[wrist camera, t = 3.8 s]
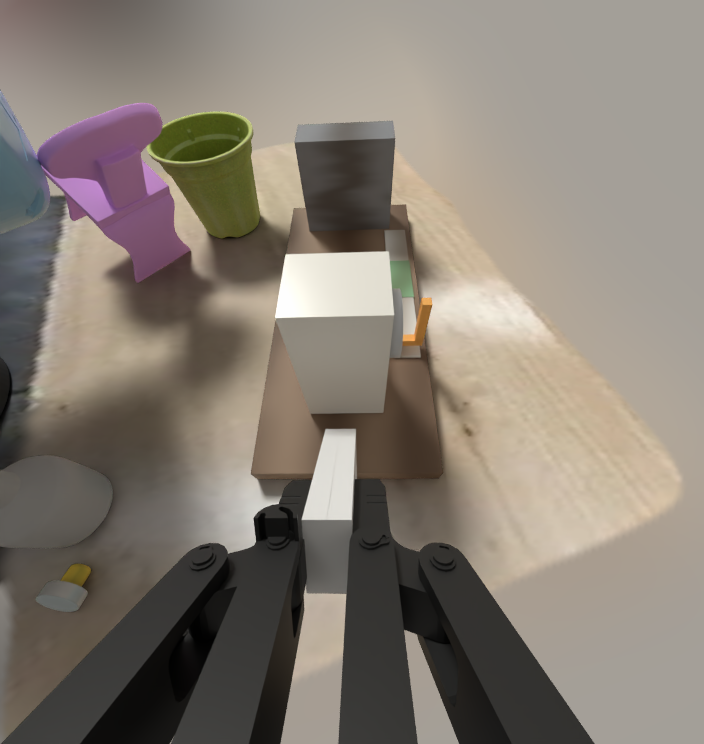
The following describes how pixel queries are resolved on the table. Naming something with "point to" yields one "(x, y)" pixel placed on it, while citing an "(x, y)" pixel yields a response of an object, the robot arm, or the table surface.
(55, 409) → the table surface
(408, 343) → the orange l-shaped piece
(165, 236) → the toy chair
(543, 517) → the table surface
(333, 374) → the block
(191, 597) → the robot arm
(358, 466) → the gauge board
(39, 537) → the reed diffuser
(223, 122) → the plant pot
